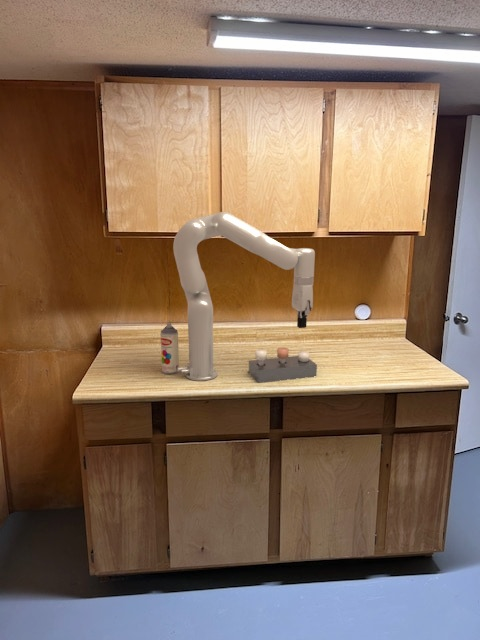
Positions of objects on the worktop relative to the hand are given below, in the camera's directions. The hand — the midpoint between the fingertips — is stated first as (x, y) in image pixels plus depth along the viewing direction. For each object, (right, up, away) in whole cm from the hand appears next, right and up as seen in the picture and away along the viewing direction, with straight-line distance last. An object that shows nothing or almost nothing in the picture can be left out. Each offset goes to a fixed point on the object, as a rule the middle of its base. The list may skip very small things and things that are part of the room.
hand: (301, 327), depth 181 cm
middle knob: (-7, -16, +2) cm, 18 cm away
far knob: (+1, -18, +5) cm, 19 cm away
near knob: (-16, -17, -1) cm, 23 cm away
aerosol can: (-52, -18, +5) cm, 56 cm away
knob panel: (-7, -19, +2) cm, 20 cm away
